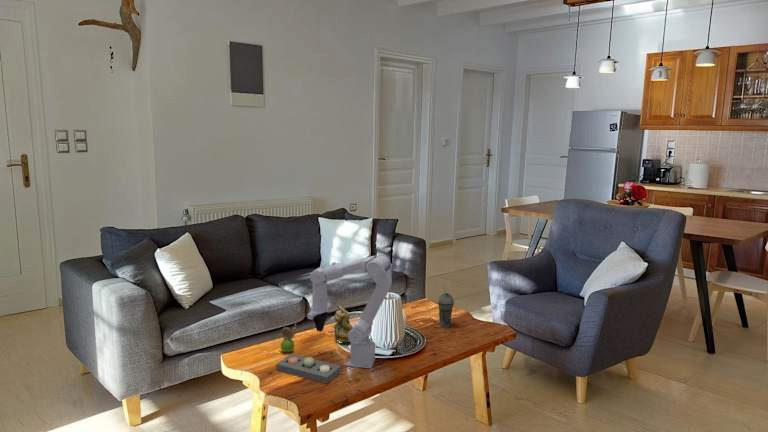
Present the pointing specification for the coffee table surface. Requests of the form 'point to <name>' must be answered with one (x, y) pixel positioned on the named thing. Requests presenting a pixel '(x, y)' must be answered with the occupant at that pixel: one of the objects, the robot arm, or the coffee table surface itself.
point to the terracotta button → (293, 360)
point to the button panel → (309, 373)
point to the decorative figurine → (342, 325)
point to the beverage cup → (445, 309)
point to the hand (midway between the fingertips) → (319, 330)
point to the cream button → (325, 368)
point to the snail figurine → (288, 339)
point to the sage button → (308, 362)
